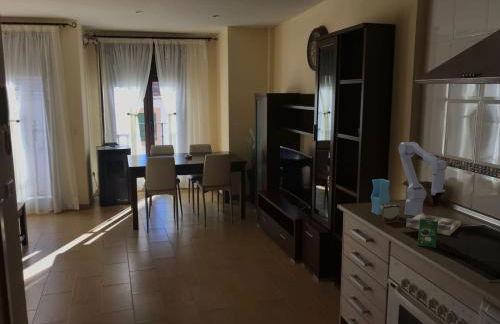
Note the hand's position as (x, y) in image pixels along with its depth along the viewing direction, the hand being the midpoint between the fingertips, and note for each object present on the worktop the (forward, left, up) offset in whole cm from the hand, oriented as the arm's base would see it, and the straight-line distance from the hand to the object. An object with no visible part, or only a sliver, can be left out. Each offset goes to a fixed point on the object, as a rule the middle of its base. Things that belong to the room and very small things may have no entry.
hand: (435, 205), depth 235 cm
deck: (+2, -9, -9) cm, 13 cm away
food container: (-21, -16, -10) cm, 28 cm away
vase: (-31, -3, -10) cm, 33 cm away
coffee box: (+9, -43, -10) cm, 45 cm away
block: (+2, -16, -7) cm, 17 cm away
